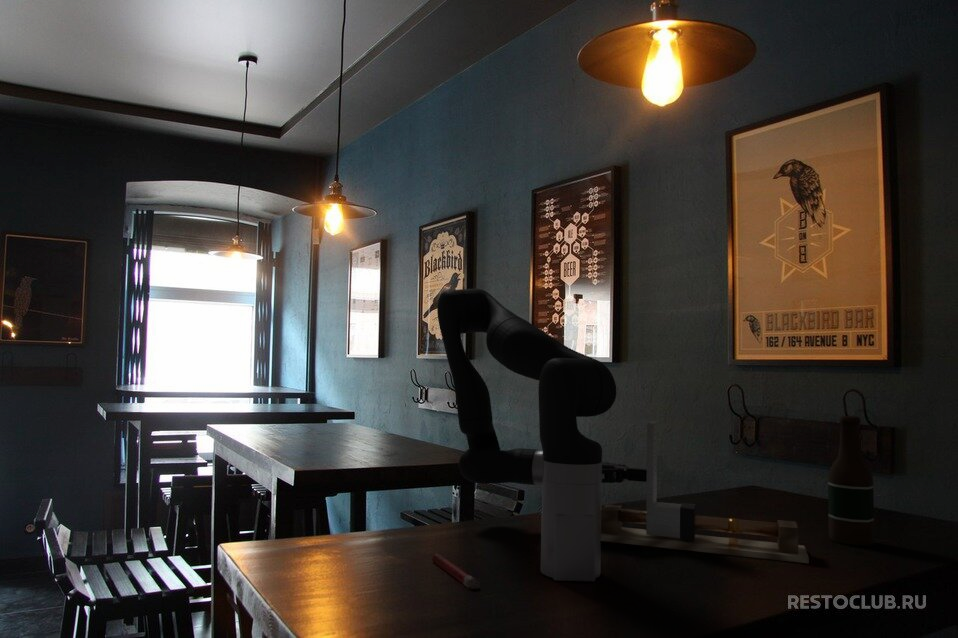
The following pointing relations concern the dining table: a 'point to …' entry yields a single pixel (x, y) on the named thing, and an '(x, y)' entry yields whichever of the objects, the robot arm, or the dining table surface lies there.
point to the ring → (687, 521)
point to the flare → (456, 572)
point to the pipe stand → (708, 540)
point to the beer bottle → (850, 490)
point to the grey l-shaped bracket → (659, 515)
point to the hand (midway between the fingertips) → (648, 475)
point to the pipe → (712, 523)
